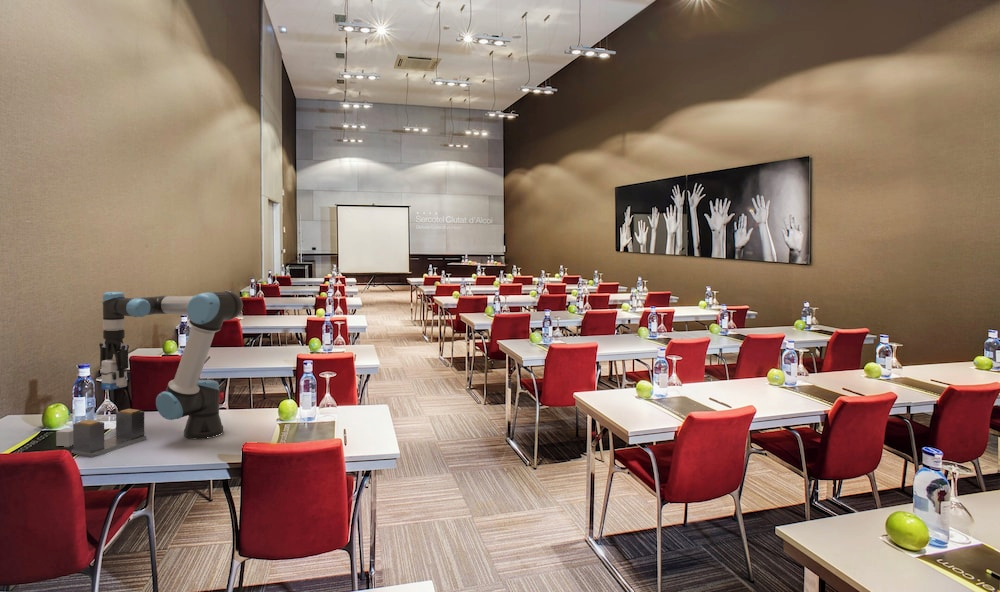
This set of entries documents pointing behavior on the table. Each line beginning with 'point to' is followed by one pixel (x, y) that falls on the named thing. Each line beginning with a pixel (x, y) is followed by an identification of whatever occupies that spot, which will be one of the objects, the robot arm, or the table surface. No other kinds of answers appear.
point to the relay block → (64, 437)
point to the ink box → (111, 375)
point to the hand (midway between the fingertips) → (114, 384)
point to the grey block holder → (92, 438)
